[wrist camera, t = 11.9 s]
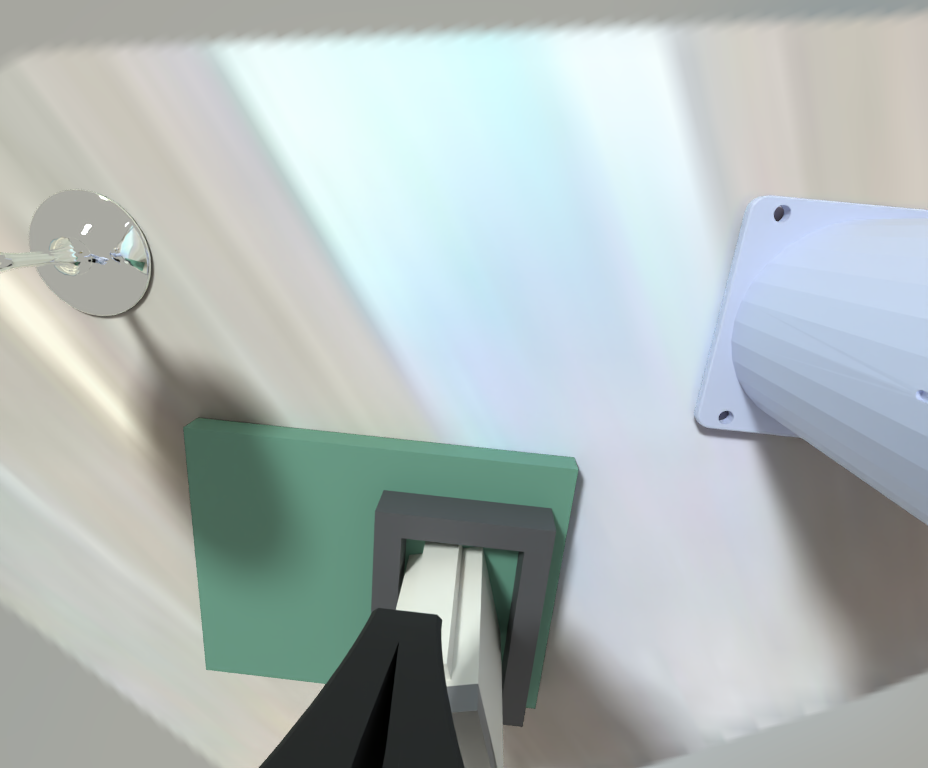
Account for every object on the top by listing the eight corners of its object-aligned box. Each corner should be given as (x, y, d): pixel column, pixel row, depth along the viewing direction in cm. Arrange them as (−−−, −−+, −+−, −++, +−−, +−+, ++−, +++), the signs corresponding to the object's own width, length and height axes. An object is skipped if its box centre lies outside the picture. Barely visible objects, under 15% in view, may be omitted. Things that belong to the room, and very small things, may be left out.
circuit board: (574, 457, 19) (585, 490, 17) (533, 688, 23) (537, 742, 21) (198, 417, 20) (157, 444, 17) (218, 651, 24) (186, 699, 21)
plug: (500, 635, 21) (504, 825, 14) (431, 642, 21) (404, 832, 15) (479, 532, 20) (473, 693, 13) (406, 542, 20) (362, 703, 13)
